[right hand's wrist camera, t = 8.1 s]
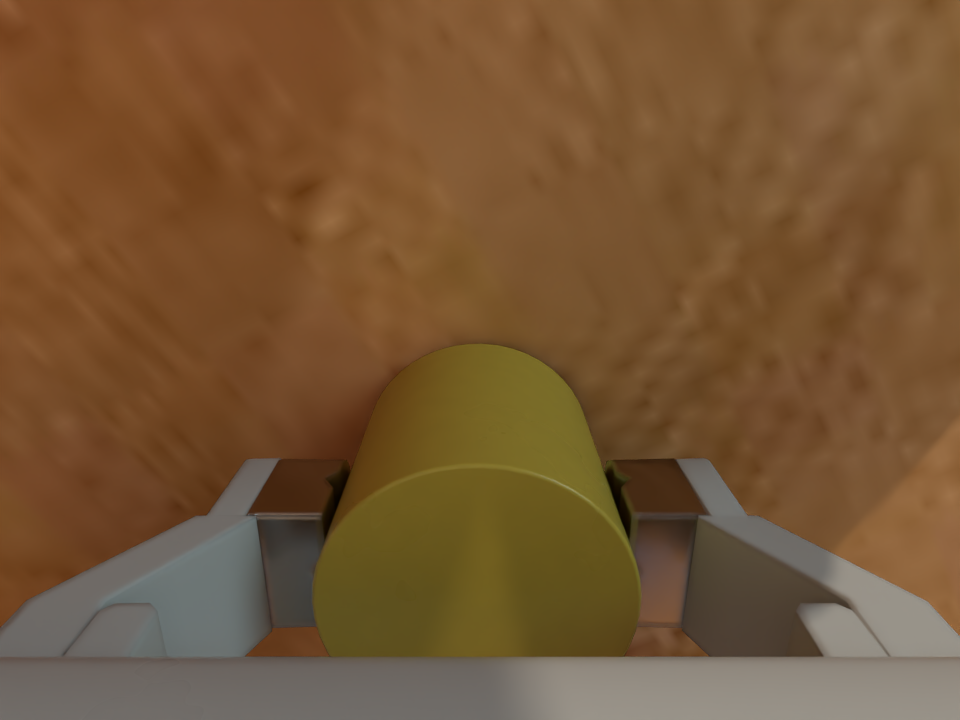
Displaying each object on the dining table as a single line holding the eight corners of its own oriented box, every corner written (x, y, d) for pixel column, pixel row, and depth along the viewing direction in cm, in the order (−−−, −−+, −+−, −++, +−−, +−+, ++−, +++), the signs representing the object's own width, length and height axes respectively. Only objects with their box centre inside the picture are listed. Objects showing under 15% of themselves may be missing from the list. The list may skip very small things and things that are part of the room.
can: (419, 305, 11) (385, 410, 7) (628, 397, 11) (706, 543, 7) (335, 492, 12) (266, 671, 8) (527, 567, 13) (548, 767, 9)
